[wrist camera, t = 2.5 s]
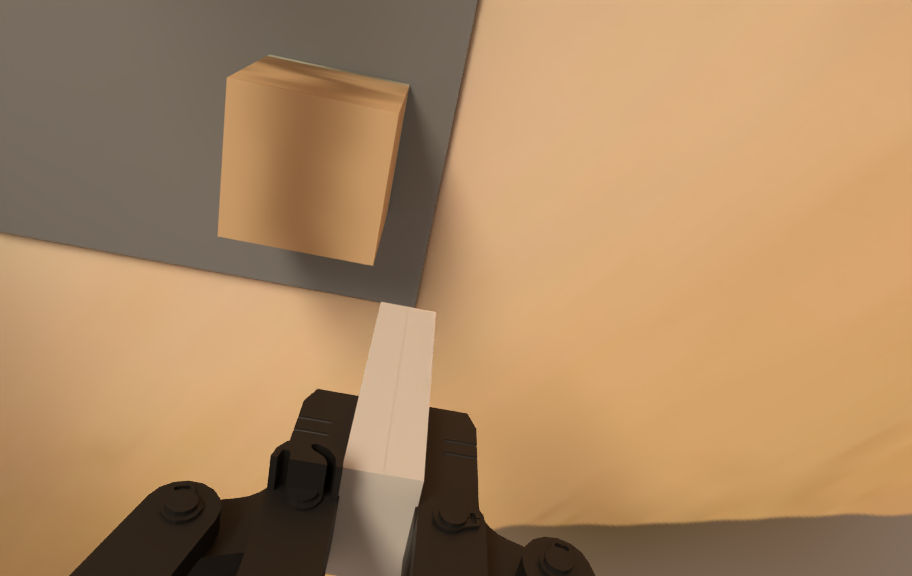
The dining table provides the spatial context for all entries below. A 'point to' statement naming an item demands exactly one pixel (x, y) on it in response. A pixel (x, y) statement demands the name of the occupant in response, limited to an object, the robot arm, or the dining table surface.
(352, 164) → the wooden block
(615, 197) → the dining table surface
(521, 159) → the dining table surface
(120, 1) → the slate mat
